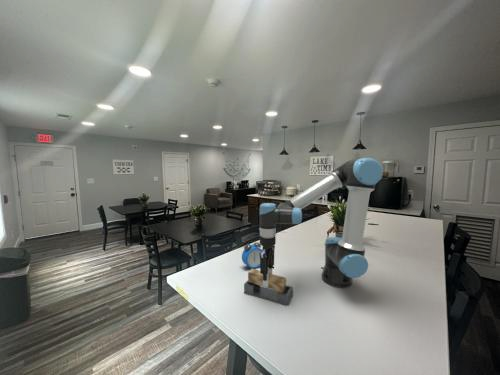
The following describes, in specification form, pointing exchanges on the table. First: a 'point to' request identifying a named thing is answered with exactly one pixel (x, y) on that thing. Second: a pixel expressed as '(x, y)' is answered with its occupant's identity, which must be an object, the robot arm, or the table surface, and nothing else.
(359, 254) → the robot arm
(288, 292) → the gray cradle tray
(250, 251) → the alarm clock
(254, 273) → the long wooden block
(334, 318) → the table surface
